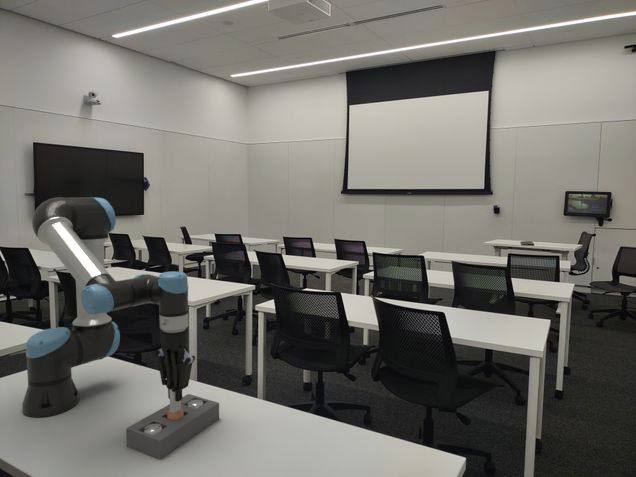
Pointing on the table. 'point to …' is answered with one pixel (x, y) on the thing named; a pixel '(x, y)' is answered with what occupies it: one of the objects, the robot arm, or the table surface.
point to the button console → (171, 427)
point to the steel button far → (195, 403)
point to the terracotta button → (175, 415)
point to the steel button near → (152, 429)
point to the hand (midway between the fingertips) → (175, 410)
